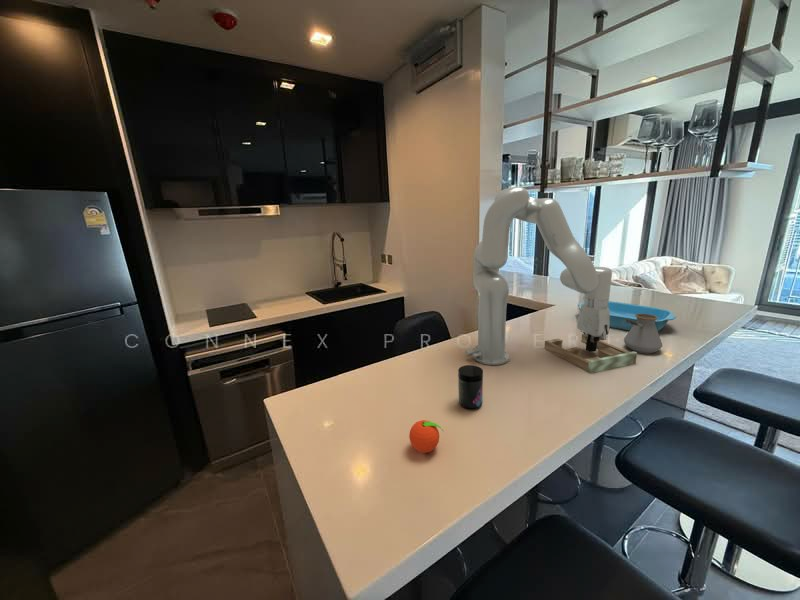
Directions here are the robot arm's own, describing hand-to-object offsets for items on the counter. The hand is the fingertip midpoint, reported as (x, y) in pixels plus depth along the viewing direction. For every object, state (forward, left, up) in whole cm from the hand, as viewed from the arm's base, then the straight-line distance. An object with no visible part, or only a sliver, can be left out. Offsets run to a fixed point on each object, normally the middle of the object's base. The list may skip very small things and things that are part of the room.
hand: (590, 350), depth 120 cm
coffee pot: (+14, -6, -1) cm, 15 cm away
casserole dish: (+37, +20, -2) cm, 42 cm away
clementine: (-74, -27, -1) cm, 79 cm away
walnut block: (0, -8, -1) cm, 8 cm away
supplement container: (-56, -14, -1) cm, 58 cm away
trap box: (-3, -1, -1) cm, 3 cm away
